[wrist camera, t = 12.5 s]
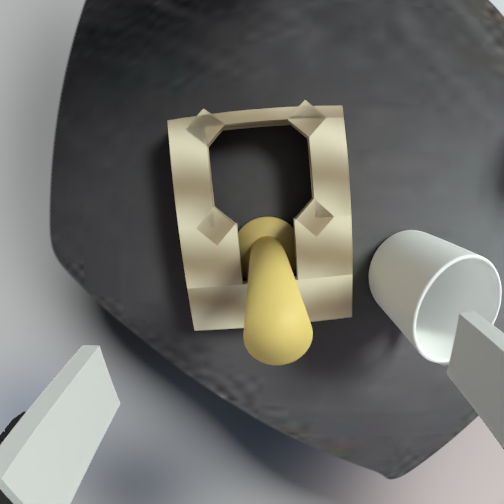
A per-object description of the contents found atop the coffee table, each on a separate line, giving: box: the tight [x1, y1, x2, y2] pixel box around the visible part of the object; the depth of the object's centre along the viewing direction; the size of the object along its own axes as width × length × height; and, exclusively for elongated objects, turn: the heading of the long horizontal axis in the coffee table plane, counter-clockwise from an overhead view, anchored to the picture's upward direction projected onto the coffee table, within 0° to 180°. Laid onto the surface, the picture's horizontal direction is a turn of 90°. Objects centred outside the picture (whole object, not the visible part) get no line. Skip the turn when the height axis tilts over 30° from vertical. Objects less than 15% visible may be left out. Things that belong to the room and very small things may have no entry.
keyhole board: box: [167, 100, 352, 331], centre depth 27 cm, size 19×14×3 cm
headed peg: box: [238, 216, 313, 365], centre depth 21 cm, size 6×6×16 cm
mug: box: [368, 230, 502, 365], centre depth 25 cm, size 9×12×11 cm
